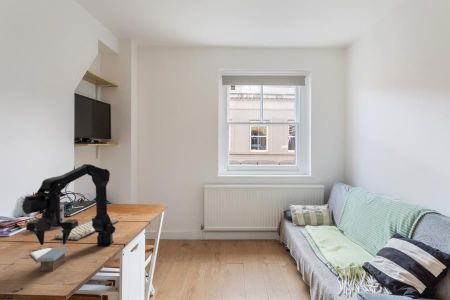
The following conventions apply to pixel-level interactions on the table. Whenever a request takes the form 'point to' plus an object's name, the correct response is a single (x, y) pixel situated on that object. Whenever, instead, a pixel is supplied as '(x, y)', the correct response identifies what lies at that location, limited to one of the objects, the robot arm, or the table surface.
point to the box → (52, 264)
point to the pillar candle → (61, 217)
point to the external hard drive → (39, 253)
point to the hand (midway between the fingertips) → (53, 244)
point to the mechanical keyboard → (82, 231)
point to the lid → (52, 255)
